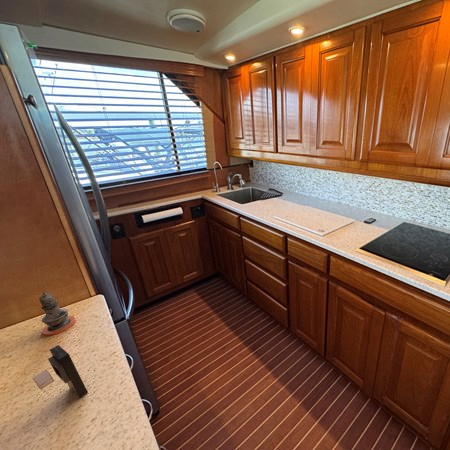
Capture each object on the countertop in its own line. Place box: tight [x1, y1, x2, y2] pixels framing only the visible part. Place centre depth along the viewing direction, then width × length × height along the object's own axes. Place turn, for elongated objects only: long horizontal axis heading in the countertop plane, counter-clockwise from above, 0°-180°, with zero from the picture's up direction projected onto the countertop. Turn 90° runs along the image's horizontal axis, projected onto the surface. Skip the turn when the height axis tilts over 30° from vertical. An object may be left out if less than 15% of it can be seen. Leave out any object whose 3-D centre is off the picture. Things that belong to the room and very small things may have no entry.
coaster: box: [41, 315, 78, 337], centre depth 73 cm, size 8×8×1 cm
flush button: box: [32, 369, 55, 391], centre depth 49 cm, size 2×3×3 cm, turn 62°
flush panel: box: [47, 344, 89, 399], centre depth 52 cm, size 2×5×12 cm, turn 62°
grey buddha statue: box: [38, 291, 71, 331], centre depth 71 cm, size 6×6×12 cm
